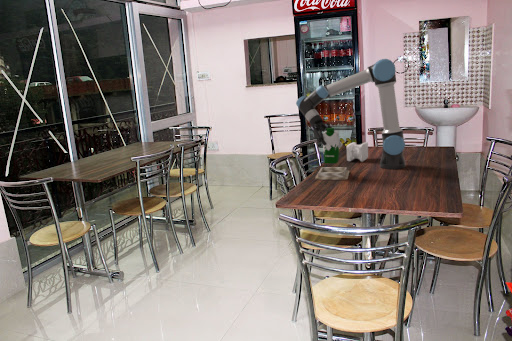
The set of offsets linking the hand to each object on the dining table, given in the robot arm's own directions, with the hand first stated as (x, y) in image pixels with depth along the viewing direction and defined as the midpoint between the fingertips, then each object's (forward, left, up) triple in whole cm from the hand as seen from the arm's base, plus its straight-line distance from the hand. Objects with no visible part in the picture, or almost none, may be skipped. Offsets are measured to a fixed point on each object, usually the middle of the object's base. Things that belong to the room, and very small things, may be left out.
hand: (335, 147), depth 246 cm
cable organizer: (-10, -47, -17) cm, 51 cm away
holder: (+2, -2, -17) cm, 17 cm away
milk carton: (+3, -2, -9) cm, 10 cm away
